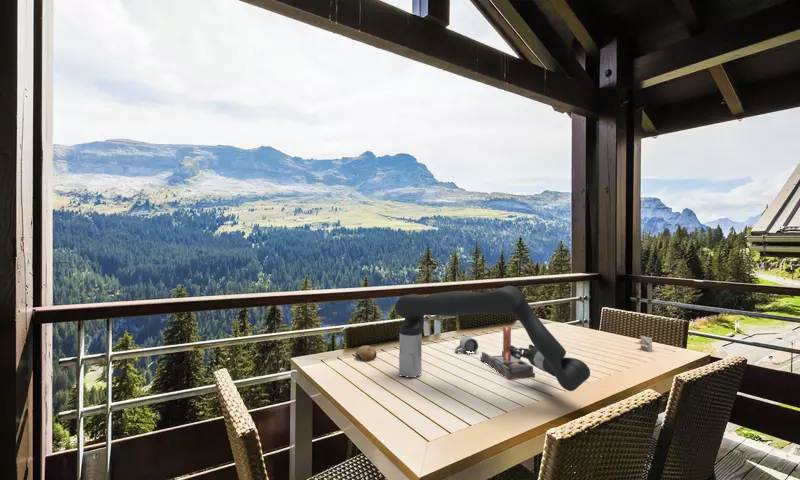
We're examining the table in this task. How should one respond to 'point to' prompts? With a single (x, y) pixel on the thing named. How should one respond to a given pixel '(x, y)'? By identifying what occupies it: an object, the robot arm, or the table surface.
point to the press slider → (507, 349)
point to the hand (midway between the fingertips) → (520, 347)
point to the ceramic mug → (467, 345)
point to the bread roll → (365, 353)
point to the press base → (509, 367)
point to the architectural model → (645, 343)
